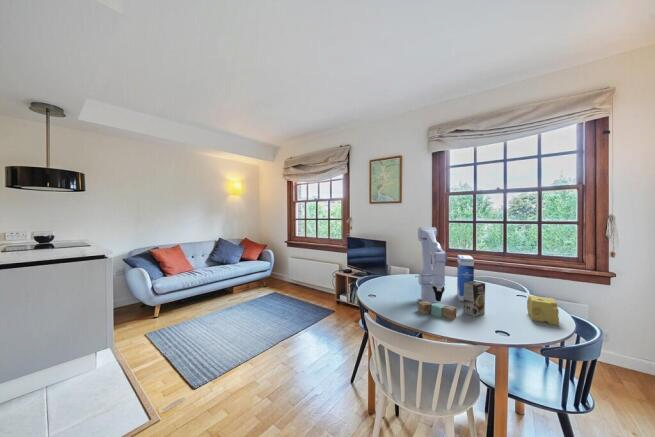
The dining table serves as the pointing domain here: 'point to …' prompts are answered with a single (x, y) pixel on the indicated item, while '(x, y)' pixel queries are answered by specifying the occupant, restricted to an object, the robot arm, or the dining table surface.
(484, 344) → the dining table surface
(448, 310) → the digit block seven
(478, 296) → the coffee box
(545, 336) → the dining table surface
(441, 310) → the plain block
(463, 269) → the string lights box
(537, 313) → the cheese
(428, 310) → the digit block one
